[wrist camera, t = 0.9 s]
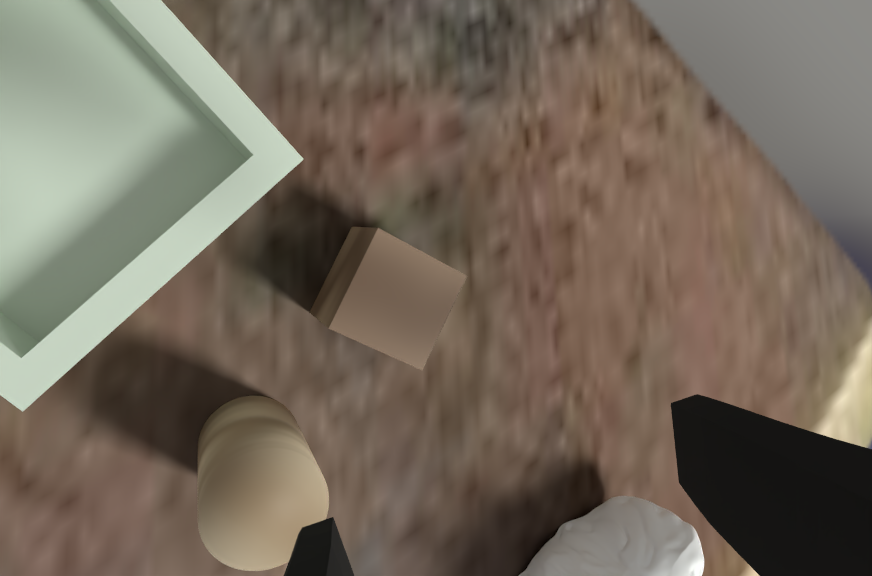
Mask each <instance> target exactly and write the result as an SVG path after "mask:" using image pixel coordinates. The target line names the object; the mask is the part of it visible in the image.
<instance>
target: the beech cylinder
mask: <svg viewBox="0 0 872 576" xmlns="http://www.w3.org/2000/svg"><path fill="white" fill-rule="evenodd" d="M197 454H198V528H199V532H200V536H201V539H202V541H203V543H204V545H205V546H206V548H207V550H208V551H209V552H210V553H211V554H212V555H213V556H214V557H215V558H216V559H217V560H219V561H220V562H222V563H223V564H225V565H228V566H230V567H232V568H236V569H239V570H246V571H260V570H267V569H271V568H275V567H278V566H280V565H283V564H285V563H287V562H289V560H290V557H291V554H292V551H293V548H294V545H295V542H296V539H297V536H298V534H299V532H300V530H301V529H302V527H305V526H308V525H311V524H314V523H317V522H320V521H323V520H326V517H327V512H328V507H329V493H328V488H327V484H326V481H325V479H324V477H323V475H322V473H321V471H320V469H319V467H318V465H317V463H316V461H315V458H314V456H313V454H312V452H311V450H310V448H309V446H308V444H307V442H306V440H305V438H304V436H303V434H302V432H301V430H300V428H299V426H298V424H297V422H296V420H295V418H294V416H293V415H292V413H291V412H290V411H289V410H288V409H287V408H286V407H285V406H284V405H283V404H281V403H279V402H278V401H276V400H274V399H271V398H268V397H264V396H244V397H240V398H237V399H234V400H231V401H229V402H227V403H225V404H224V405H222V406H221V407H219V408H218V409H217V410H216V411H215V412H213V413H212V415H211V416H210V417H209V418H208V419H207V421H206V422H205V424H204V426H203V428H202V430H201V432H200V435H199V439H198V448H197Z"/></svg>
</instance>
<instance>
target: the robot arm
mask: <svg viewBox="0 0 872 576" xmlns="http://www.w3.org/2000/svg"><path fill="white" fill-rule="evenodd" d="M671 410H672V420H673V429H674V439H675V449H676V458H677V468H678V477H679V483H680V485H681V486H682V487H683V489H684V490H685V492H686V493H687V494H688V496H689V497H690V498H691V500H692V501H693V502H694V504H695V505H696V506H697V508H698V509H699V510H700V512H701V513H702V514H703V515H704V517H705V518H706V519H707V521H708V522H709V523H710V524H711V525H712V526H713V528H714V529H715V530H716V531H717V532H718V533H719V534H720V535H721V536H722V537H723V538H724V539H725V540H726V541H727V542H728V543H729V544H730V545H731V546H732V547H733V549H734V550H735V551H736V552H737V553H738V554H739V555H740V556H741V557H742V558H743V559H744V560H745V561H746V562H747V563H748V564H749V565H750V566H751V567H752V568H753V569H754V570H755V571H756V572H757V573H758V574H759V575H760V576H872V449H868V448H865V447H861V446H858V445H854V444H851V443H847V442H844V441H840V440H837V439H833V438H830V437H827V436H823V435H820V434H817V433H814V432H810V431H807V430H804V429H801V428H798V427H795V426H792V425H789V424H786V423H783V422H780V421H777V420H774V419H771V418H768V417H765V416H762V415H759V414H756V413H754V412H751V411H748V410H745V409H742V408H739V407H736V406H733V405H730V404H727V403H724V402H721V401H718V400H715V399H712V398H708V397H705V396H701V395H698V394H697V395H694V396H691V397H688V398H685V399H682V400H679V401H676V402H673V403H671ZM284 576H354V574H353V571H352V568H351V565H350V563H349V560H348V557H347V554H346V551H345V549H344V546H343V543H342V540H341V538H340V535H339V532H338V529H337V527H336V524H335V521H334V518H333V517H332V518H329V519H326V520H323V521H320V522H317V523H314V524H311V525H308V526H305V527H302V529H301V530H300V532H299V534H298V536H297V539H296V542H295V545H294V548H293V551H292V554H291V557H290V560H289V563H288V566H287V568H286V571H285V574H284Z"/></svg>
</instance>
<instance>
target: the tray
mask: <svg viewBox="0 0 872 576" xmlns="http://www.w3.org/2000/svg"><path fill="white" fill-rule="evenodd" d="M302 160H303V158H302V157H301V156H300V155H299V154H298V152H297V151H296V150H295V149H294V148H293V147H292V146H291V145H290V143H289V142H288V141H287V140H286V139H285V138H284V137H283V136H282V135H281V133H280V132H279V131H278V130H277V129H276V128H275V127H274V126H273V125H272V123H271V122H270V121H269V120H268V119H267V118H266V117H265V116H264V114H263V113H262V112H261V111H260V110H259V109H258V108H257V107H256V106H255V104H254V103H253V102H252V101H251V100H250V99H249V98H248V97H247V96H246V94H245V93H244V92H243V91H242V90H241V89H240V88H239V87H238V85H237V84H236V83H235V82H234V81H233V80H232V79H231V78H230V77H229V75H228V74H227V73H226V72H225V71H224V70H223V69H222V68H221V66H220V65H219V64H218V63H217V62H216V61H215V60H214V59H213V58H212V56H211V55H210V54H209V53H208V52H207V51H206V50H205V49H204V48H203V46H202V45H201V44H200V43H199V42H198V41H197V40H196V39H195V37H194V36H193V35H192V34H191V33H190V32H189V31H188V30H187V29H186V27H185V26H184V25H183V24H182V23H181V22H180V21H179V20H178V19H177V17H176V16H175V15H174V14H173V13H172V12H171V11H170V10H169V8H168V7H167V6H166V5H165V4H164V3H163V2H162V1H161V0H0V395H1V396H2V397H4V398H5V399H6V400H8V401H9V402H10V403H12V404H13V405H14V406H16V407H17V408H19V409H20V410H21V411H24V410H25V409H26V408H27V407H28V406H30V405H31V404H32V403H33V402H34V401H35V400H36V399H37V398H38V397H40V396H41V395H42V394H43V393H44V392H45V391H46V390H47V389H48V388H50V387H51V386H52V385H53V384H54V383H55V382H56V381H57V380H58V379H60V378H61V377H62V376H63V375H64V374H65V373H66V372H67V371H69V370H70V369H71V368H72V367H73V366H74V365H75V364H76V363H77V362H79V361H80V360H81V359H82V358H83V357H84V356H85V355H86V354H87V353H89V352H90V351H91V350H92V349H93V348H94V347H95V346H96V345H97V344H99V343H100V342H101V341H102V340H103V339H104V338H105V337H106V336H107V335H109V334H110V333H111V332H112V331H113V330H114V329H115V328H116V327H117V326H119V325H120V324H121V323H122V322H123V321H124V320H125V319H126V318H127V317H129V316H130V315H131V314H132V313H133V312H134V311H135V310H136V309H138V308H139V307H140V306H141V305H142V304H143V303H144V302H145V301H146V300H148V299H149V298H150V297H151V296H152V295H153V294H154V293H155V292H156V291H158V290H159V289H160V288H161V287H162V286H163V285H164V284H165V283H166V282H168V281H169V280H170V279H171V278H172V277H173V276H174V275H175V274H176V273H178V272H179V271H180V270H181V269H182V268H183V267H184V266H185V265H186V264H188V263H189V262H190V261H191V260H192V259H193V258H194V257H195V256H196V255H198V254H199V253H200V252H201V251H202V250H203V249H204V248H205V247H206V246H208V245H209V244H210V243H211V242H212V241H213V240H214V239H215V238H217V237H218V236H219V235H220V234H221V233H222V232H223V231H224V230H225V229H227V228H228V227H229V226H230V225H231V224H232V223H233V222H234V221H235V220H237V219H238V218H239V217H240V216H241V215H242V214H243V213H244V212H245V211H247V210H248V209H249V208H250V207H251V206H252V205H253V204H254V203H255V202H257V201H258V200H259V199H260V198H261V197H262V196H263V195H264V194H265V193H267V192H268V191H269V190H270V189H271V188H272V187H273V186H274V185H275V184H277V183H278V182H279V181H280V180H281V179H282V178H283V177H284V176H286V175H287V174H288V173H289V172H290V171H291V170H292V169H293V168H294V167H296V166H297V165H298V164H299V163H300V162H301V161H302Z"/></svg>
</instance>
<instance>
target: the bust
mask: <svg viewBox="0 0 872 576" xmlns="http://www.w3.org/2000/svg"><path fill="white" fill-rule="evenodd" d="M703 569H704V556H703V552H702V547H701V543H700V540H699V537H698V534H697V532H696V530H695V529H694V527H693V526H692V525H690V524H689V523H687V522H684V521H682V520H681V519H680V518H679V517H678V516H677V515H675V514H674V513H672V512H671V511H669V510H668V509H665V508H662V507H659V506H657V505H656V504H654V503H652V502H650V501H648V500H645V499H641V498H637V497H630V496H616V497H613V498H610V499H609V500H607V501H605V502H604V503H603V504H601V505H600V506H598V507H596V508H595V509H593V510H592V511H591V512H590V513H588V514H587V515H585V516H583V517H580V518H577V519H574V520H571V521H568V522H566V523H564V524H562V525H561V526H560V527H559V529H558V531H557V533H556V535H555V536H554V537H553V538H551V539H550V540H549V541H548V542H547V543H545V545H544V546H543V547H542V548H541V549H540V551H539V552H538V553H537V554H536V555H535V556H534V557H533V559H532V560H531V562H530V563H529V565H528V567H527V568H526V570H525V571H524V572H523V573H521V574H519V575H518V576H702V573H703Z"/></svg>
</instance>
